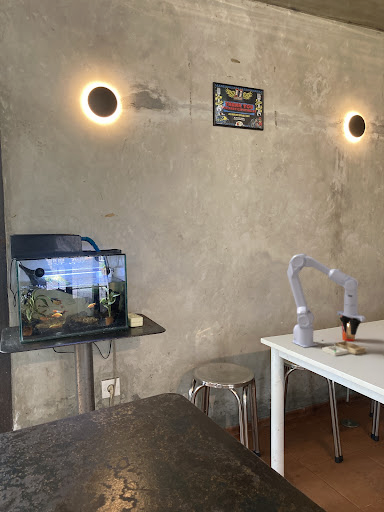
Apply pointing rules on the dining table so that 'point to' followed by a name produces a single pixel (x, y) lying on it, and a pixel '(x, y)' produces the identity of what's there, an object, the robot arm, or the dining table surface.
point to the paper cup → (344, 335)
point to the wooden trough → (351, 347)
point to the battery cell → (349, 331)
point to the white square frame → (335, 353)
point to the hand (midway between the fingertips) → (350, 333)
